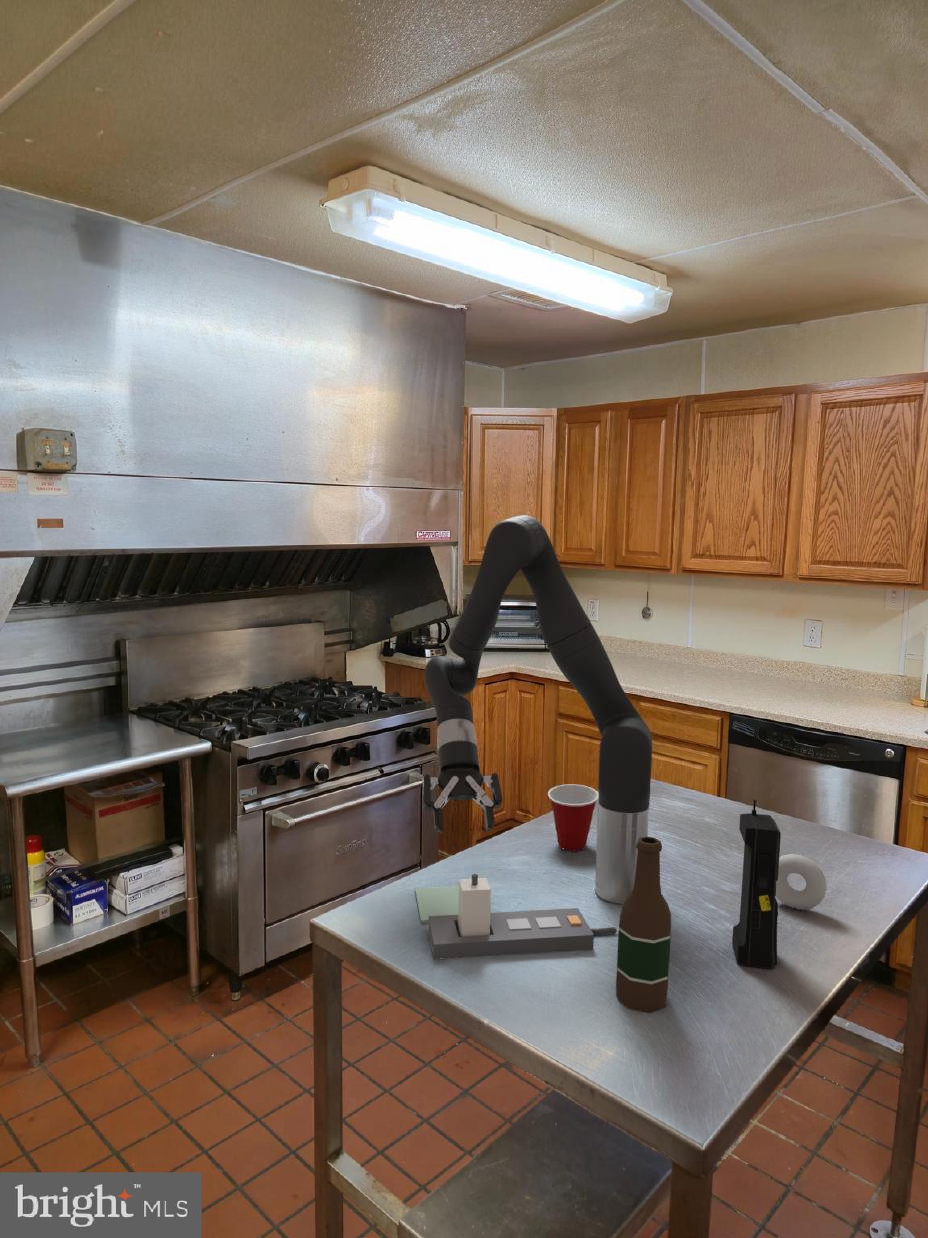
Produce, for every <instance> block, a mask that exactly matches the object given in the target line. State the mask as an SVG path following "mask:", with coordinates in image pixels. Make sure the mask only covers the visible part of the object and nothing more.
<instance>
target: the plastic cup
mask: <svg viewBox="0 0 928 1238" xmlns="http://www.w3.org/2000/svg"><path fill="white" fill-rule="evenodd" d="M547 795H548V798H549V800H550V803H551V807H552V812H553V813H552V814H553V819H554V826H555V831H556V838H557V843H558V847H559V846H560V847H561V848H560V847H559V848H560V849H562V848H564V849H566V850H565V851H568V850H571V851H570V852H578V851H577V850H580V851H582V850H581V849H583V848H584V849H585V848H586V846H587V843H588V839H589V838H588V837H589V833H590V829H591V824H592V822H593V821H592V820H593V815H594V810H595V807H596V804H597V802H598V801H599V791H597V790H596V789H594V788H593V787H589V786H586V785H584V784H574V783H572V784H571V783H570V784H569V783H568V784H561V785H556V786H554V787H552V788H550V789H549V790H548V792H547ZM564 849H563V850H564ZM584 849H583V850H584ZM574 850H575V851H574Z"/></svg>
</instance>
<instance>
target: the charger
mask: <svg viewBox="0 0 928 1238" xmlns="http://www.w3.org/2000/svg"><path fill="white" fill-rule="evenodd" d="M458 886H459V899H458V937H467V936H484V935H490V913H491V900H492V898H491V896H492V892H491V891H492V888H491V887H490V884H489V881H488V879H487V877H479V875H478V874H477V873H473V874H471V877H470V878H458Z"/></svg>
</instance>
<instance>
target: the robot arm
mask: <svg viewBox="0 0 928 1238" xmlns="http://www.w3.org/2000/svg"><path fill="white" fill-rule="evenodd" d="M519 571H520V572H521V573H522V575H523V577H524V578H525V580H526V582H527V584H528V585H529V588H530V589H531V592H532V595H533V597H534V603H535V607H536V613H537V620H538V623H539V628H540V633H541V636H542V639H543V641H544V644H545V646H546V647H547V650H548V651H549V653H550V655H551V656H552V658H553V660H554V662H555V663H556V664H555V665H556V666H557V667H558V669H559V670H560V672H561V673H562V674H563V676H564V677H565V679H566V680H567V681H568V682H569V683H570V685H571V686H572V687H573V688H574V690H576V691H577V693H578V694H579V696H581V698H582V699H583V701H584V702H585V704H586V706H587V707H588V708H589V711H590V713H591V715H592V717H593V719H594V721H595V724H596V726H597V729H598V732H599V733H600V734H599V735H600V737H601V738H600V742H599V751H598V752H599V755H598V782H597V783H598V784H597V787H598V788H597V790H598V791H597V792H598V794H599V798H598V800H597V802H598V805H597V807H598V808H597V827H596V828H597V829H596V851H595V852H596V853H595V854H596V855H595V878H594V883H595V884H594V891H595V894H596V895H597V896H598V897H599V898H601V899H603V900H604V901H607V902H610V903H614V904H618V905H619V904H620V905H621V904H622V905H623V904H624V901H625V899H626V897H627V896H628V895H629V893H630V892H631V891H632V890H633V887H634V882H635V873H636V864H637V854H638V849H637V848H636V845H637V842H638V839H639V838H642V837H649V815H650V800H651V799H650V797H651V778H652V763H653V762H652V759H653V736H652V732H651V730H650V728H649V726H648V724H647V723H646V722H645V720H644V719H643V718H642V716H641V715H640V713H639V712H638V710H637V709H636V707H635V706H634V704H633V703H632V702H631V700H630V699H629V697H628V695H627V694H626V692H625V691H624V689H623V687H622V686H621V683H620V681H619V679H618V677H617V674H616V671H615V668H614V666H613V663H612V662H611V660H610V658H609V656H608V653H607V651H606V648H605V647H604V646H603V643H602V641H601V639H600V637H599V635H598V633H597V631H596V629H595V627H594V626H593V624H592V621H590V619H589V617H588V615H587V613H586V611H585V610H584V607H583V606H582V605H581V604H582V603H580V600H579V598H578V597H577V595H576V593H575V591H574V590H573V588H572V586H571V584H570V583H569V581H568V578H567V577H566V575H565V573H564V570H563V568H562V566H561V563H560V562H559V558H558V556H557V554H556V551H555V549H554V546H553V544H552V541H551V539H550V537H549V535H548V532H547V530H546V529H545V527H544V525H543V524H542V523H541V522H540V521H539V520H538V519H536V518H534V517H533V516H530V515H525V514H523V515H522V514H521V515H517V516H513V517H509V518H506V519H504V520H501V521H499V522H498V523H496V525H494V526H493V528H492V529H491V531H490V533H489V534H488V538H487V541H486V545H485V547H484V551H483V555H482V559H481V562H480V566H479V569H478V572H477V575H476V578H475V580H474V584H473V586H472V589H471V592H470V594H469V596H468V599H467V601H466V603H465V606H464V608H463V610H462V612H461V614H460V616H459V618H458V620H457V622H456V624H455V626H454V629H453V631H452V632H451V635H450V637H449V640H448V646H449V649H450V650H451V651H452V653H454V654H455V655H456V656H458V657H460V658H462V660H461V659H457V658H456V659H455V658H451V657H447V656H441V655H437V656H434V657H432V658H430V659H429V661H428V662H427V664H426V666H425V669H424V675H423V676H424V682H425V683H424V684H425V688H426V690H427V691H428V692H427V693H428V694H429V696H430V699H431V702H432V704H433V707H434V710H435V715H436V725H437V726H436V727H437V732H436V733H437V736H436V743H437V744H436V750H437V756H438V757H437V758H438V771H439V772H438V773H439V775H438V777H436V776H434V777H433V776H431V775H430V774H425V775H424V776H423V781H422V809H423V811H425V812H429V811H430V812H432V814H433V827H434V830H436V831H437V832H438V834H443V832H444V818H443V817H444V816H443V815H444V814H443V808H444V806H446V804H447V803H448V801H449V800H452V801H453V802H457V801H461V800H462V801H471V800H473V801H474V802H475V803H476V804H477V805H479V806H480V807H481V808H482V809H483V810H484V812H483V813H484V814H483V815H484V822H485V823H484V825H485V832H491V831H492V829H494V826H495V822H496V821H495V814H494V813H495V812H494V810H497V809H500V808H501V807H502V803H503V801H504V800H503V794H502V789H501V784H500V777H499V774H498V773H496V772H493V773H491V775H483V774H482V773H481V767H480V759H479V757H480V756H479V749H478V740H477V733H476V730H475V725H474V717H473V708H472V704H471V702H470V701H469V699H468V698H466V697H464V696H467V695H468V694H470V693H472V692H473V690H474V689H475V688H476V686H477V683H478V682H477V681H478V675H479V669H480V663H481V660H482V656H483V652H484V650H485V648H486V646H487V645H488V642H489V640H490V638H491V636H492V634H493V632H494V629H495V627H496V625H497V623H498V619H499V614H500V609H501V605H502V601H503V597H504V596H505V593H506V591H507V589H508V587H509V586H510V584H511V583H512V581H513V579H514V578H515V576H516V575H517V574H518V572H519ZM483 784H485V785H486V786H487V788H488V789H490V790H491V796H492V800H491V798H490V797H489V796H488V794H487V793H486V792H485V790H484V789H483V788H482V786H483ZM436 785H437V786H438V787H439V788H440V789H441V790H442V791H441V793H440V795H439V796H438V797H437V800H435V801H432V800H431V799H432V798H431V791H433V790H434V789H435V786H436Z"/></svg>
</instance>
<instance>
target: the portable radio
mask: <svg viewBox="0 0 928 1238" xmlns="http://www.w3.org/2000/svg"><path fill="white" fill-rule="evenodd" d="M757 801H758V800H757V799H752V802H753V809H751V813H749V812H747V813H740V814H739V832H740V835H741V838H742V839H743V842H744V847H743V862H742V863H743V864H742V877H741V878H742V879H741V880H742V881H741V896H740V910H739V922H738V923H737V924H736V925H734V926H733V927H732V936H731V937H732V942H731V945H732V948H733V949H732V950H733V952H734V958H735V960H736V961H735V962H736V963H737V964H740V965H743V966H746V967H747V966H749V967H755V968H763V969H769V970H771V969H772V970H773V969H774V968H775V966H777V965H778V919H779V918H778V917H779V903H778V899H777V897H776V881H777V880H778V871H779V857H780V854H781V853H780V852H781V836H782V835H781V831H780V829H779V827H778V825H777V823H776V820H775V819H774V818H773V817H772V815H770V814H761V813H757V810H756V806H757V803H756V802H757Z"/></svg>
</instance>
